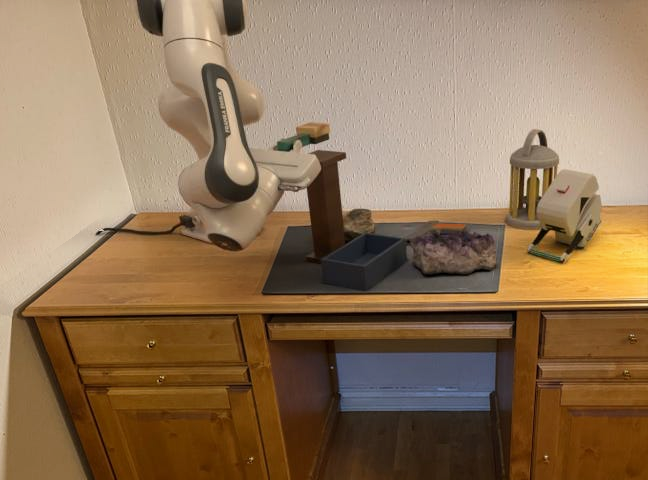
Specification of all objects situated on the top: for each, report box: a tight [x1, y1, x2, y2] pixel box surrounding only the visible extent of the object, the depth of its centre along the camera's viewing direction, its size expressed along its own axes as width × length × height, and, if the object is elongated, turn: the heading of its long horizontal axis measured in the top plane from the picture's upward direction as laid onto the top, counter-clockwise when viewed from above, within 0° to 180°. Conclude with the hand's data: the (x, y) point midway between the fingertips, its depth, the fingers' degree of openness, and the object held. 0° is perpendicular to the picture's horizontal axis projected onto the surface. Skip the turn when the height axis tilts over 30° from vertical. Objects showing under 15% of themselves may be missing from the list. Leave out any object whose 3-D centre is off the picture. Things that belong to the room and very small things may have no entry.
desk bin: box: [320, 233, 408, 292], centre depth 155 cm, size 12×20×6 cm, turn 154°
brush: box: [276, 122, 331, 152], centre depth 146 cm, size 15×5×4 cm, turn 154°
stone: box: [342, 208, 376, 242], centre depth 176 cm, size 14×10×10 cm
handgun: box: [406, 219, 467, 246], centre depth 176 cm, size 2×16×12 cm
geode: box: [410, 230, 497, 275], centre depth 155 cm, size 20×12×10 cm, turn 96°
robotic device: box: [526, 168, 603, 264], centre depth 163 cm, size 10×21×20 cm
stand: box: [305, 149, 347, 264], centre depth 160 cm, size 8×10×25 cm
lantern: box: [505, 128, 560, 230], centre depth 180 cm, size 14×14×25 cm
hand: (291, 141), depth 143 cm, fingers closed on brush, 2 cm apart
